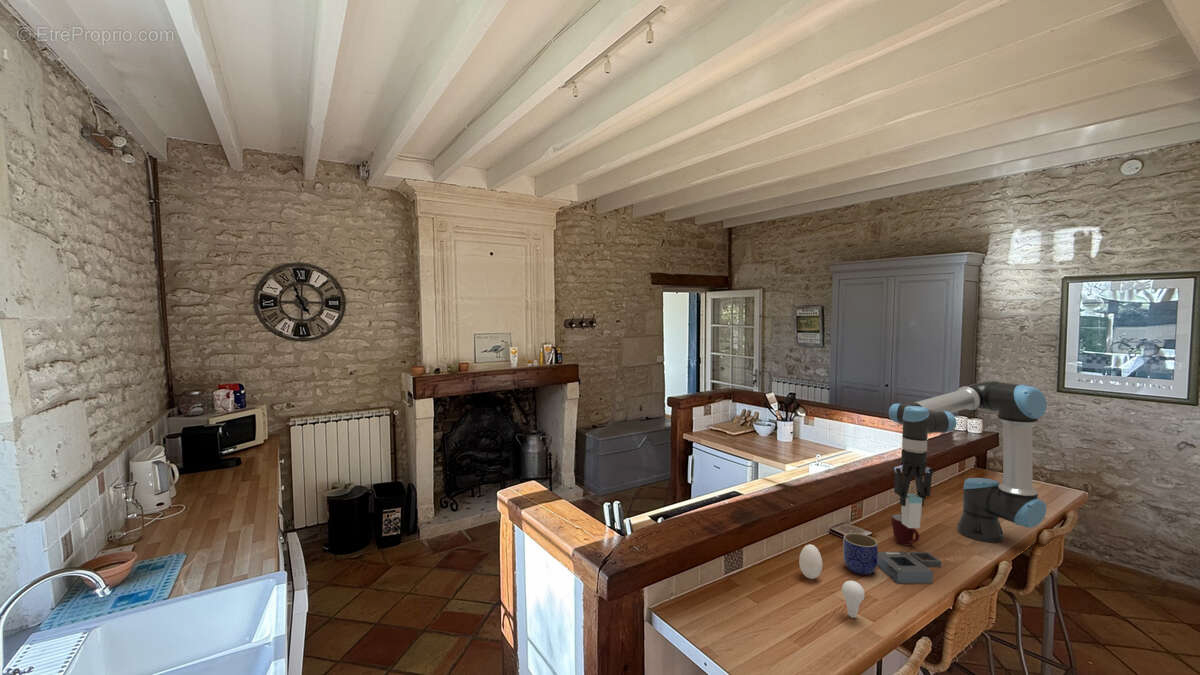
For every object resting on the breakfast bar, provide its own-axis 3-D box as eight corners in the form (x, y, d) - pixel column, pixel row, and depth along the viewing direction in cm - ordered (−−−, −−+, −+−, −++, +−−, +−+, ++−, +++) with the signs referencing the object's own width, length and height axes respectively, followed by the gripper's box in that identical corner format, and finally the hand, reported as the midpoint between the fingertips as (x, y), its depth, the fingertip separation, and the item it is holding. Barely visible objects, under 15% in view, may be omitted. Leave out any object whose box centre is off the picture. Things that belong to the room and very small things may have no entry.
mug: (926, 547, 190) (926, 522, 190) (912, 552, 187) (913, 526, 186) (899, 536, 200) (900, 512, 199) (886, 540, 196) (887, 516, 196)
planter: (873, 565, 177) (874, 535, 177) (880, 580, 167) (881, 548, 167) (840, 560, 181) (841, 530, 180) (845, 575, 171) (845, 544, 170)
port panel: (906, 562, 179) (906, 550, 179) (932, 583, 165) (932, 570, 165) (873, 562, 179) (874, 551, 179) (897, 583, 165) (897, 571, 165)
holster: (927, 557, 183) (928, 552, 183) (941, 566, 176) (941, 561, 176) (909, 557, 183) (909, 552, 183) (921, 567, 176) (922, 561, 176)
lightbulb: (837, 611, 150) (837, 577, 149) (855, 610, 150) (856, 576, 150) (848, 624, 144) (849, 588, 143) (868, 623, 144) (869, 587, 144)
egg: (796, 579, 168) (797, 546, 167) (801, 570, 174) (802, 538, 173) (819, 586, 164) (820, 552, 163) (823, 576, 170) (824, 543, 169)
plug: (912, 523, 176) (914, 493, 176) (919, 528, 172) (921, 497, 172) (901, 523, 176) (903, 493, 176) (908, 528, 172) (910, 497, 172)
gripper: (930, 447, 177) (927, 510, 178) (884, 446, 177) (881, 510, 178) (945, 453, 169) (942, 519, 170) (896, 452, 169) (893, 518, 170)
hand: (911, 514), depth 174 cm, fingers closed on plug, 4 cm apart
